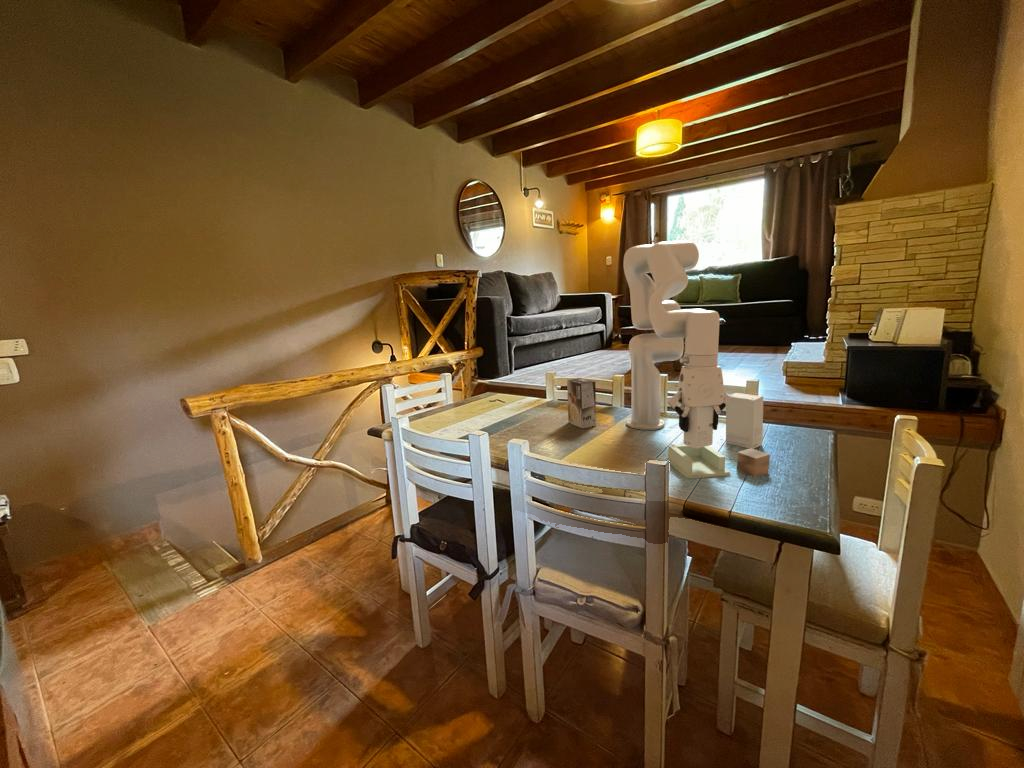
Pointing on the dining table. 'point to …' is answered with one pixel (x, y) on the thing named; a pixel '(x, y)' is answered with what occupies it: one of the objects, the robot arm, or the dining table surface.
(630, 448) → the dining table surface
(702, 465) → the u rest
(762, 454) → the walnut block
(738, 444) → the skincare box
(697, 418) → the skincare box
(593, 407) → the coffee box
